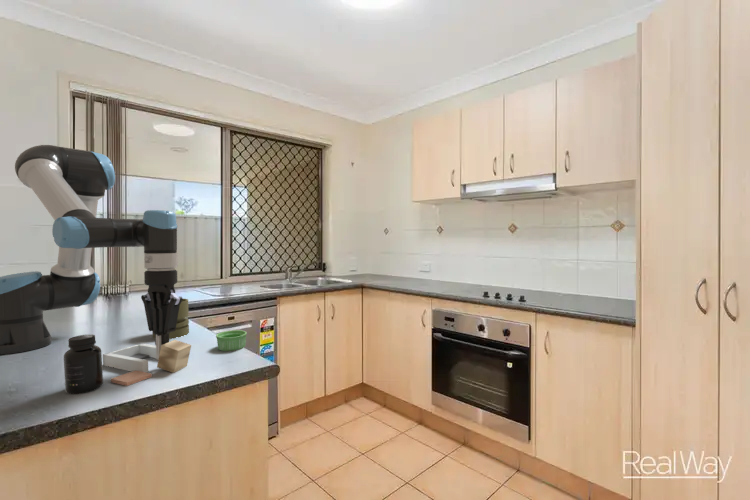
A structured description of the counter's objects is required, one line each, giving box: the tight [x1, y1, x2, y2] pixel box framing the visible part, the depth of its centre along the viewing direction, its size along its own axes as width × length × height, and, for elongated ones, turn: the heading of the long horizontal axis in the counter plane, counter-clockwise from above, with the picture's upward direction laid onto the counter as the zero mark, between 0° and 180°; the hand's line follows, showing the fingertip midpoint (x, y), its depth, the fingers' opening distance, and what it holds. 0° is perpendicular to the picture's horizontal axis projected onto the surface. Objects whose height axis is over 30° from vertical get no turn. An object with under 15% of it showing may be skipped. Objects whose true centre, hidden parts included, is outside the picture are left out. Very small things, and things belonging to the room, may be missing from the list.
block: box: [156, 339, 192, 374], centre depth 97 cm, size 5×5×6 cm
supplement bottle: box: [63, 333, 104, 395], centre depth 85 cm, size 7×7×12 cm
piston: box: [151, 298, 190, 340], centre depth 131 cm, size 11×12×11 cm
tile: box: [110, 370, 153, 387], centre depth 90 cm, size 6×6×1 cm
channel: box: [102, 343, 156, 373], centre depth 102 cm, size 16×11×3 cm
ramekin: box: [215, 329, 248, 352], centre depth 116 cm, size 9×9×4 cm
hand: (162, 358), depth 98 cm, fingers closed
